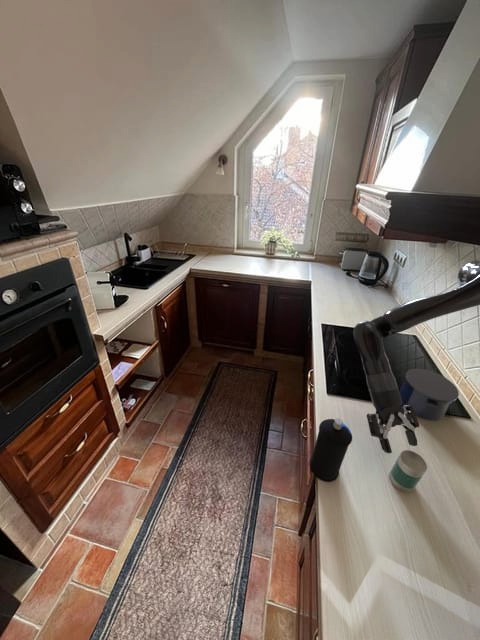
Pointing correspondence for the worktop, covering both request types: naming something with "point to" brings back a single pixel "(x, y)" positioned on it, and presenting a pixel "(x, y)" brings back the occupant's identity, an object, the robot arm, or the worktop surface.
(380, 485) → the worktop surface
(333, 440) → the aerosol can
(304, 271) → the worktop surface
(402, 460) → the tin can
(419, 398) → the pot
